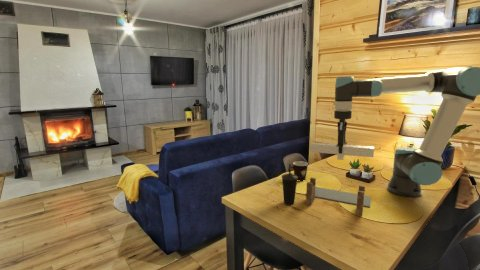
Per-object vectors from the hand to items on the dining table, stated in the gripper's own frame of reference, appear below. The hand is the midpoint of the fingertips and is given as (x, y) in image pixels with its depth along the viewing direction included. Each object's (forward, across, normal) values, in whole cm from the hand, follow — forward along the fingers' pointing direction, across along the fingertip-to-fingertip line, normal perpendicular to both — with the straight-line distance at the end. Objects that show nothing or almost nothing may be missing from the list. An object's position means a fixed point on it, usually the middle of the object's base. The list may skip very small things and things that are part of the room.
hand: (340, 158), depth 126 cm
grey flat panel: (+21, -2, -1) cm, 21 cm away
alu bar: (-2, 0, 0) cm, 2 cm away
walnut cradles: (+21, +10, -1) cm, 23 cm away
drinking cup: (+21, +15, -21) cm, 34 cm away
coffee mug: (+21, -17, -25) cm, 37 cm away
